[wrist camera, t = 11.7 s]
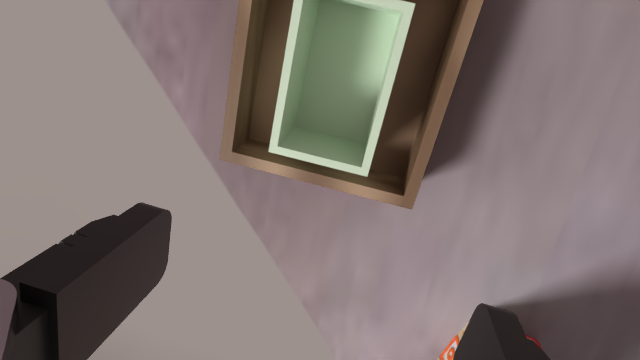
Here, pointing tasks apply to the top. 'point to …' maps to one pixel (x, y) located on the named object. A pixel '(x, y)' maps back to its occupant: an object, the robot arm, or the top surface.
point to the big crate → (401, 113)
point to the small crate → (338, 80)
